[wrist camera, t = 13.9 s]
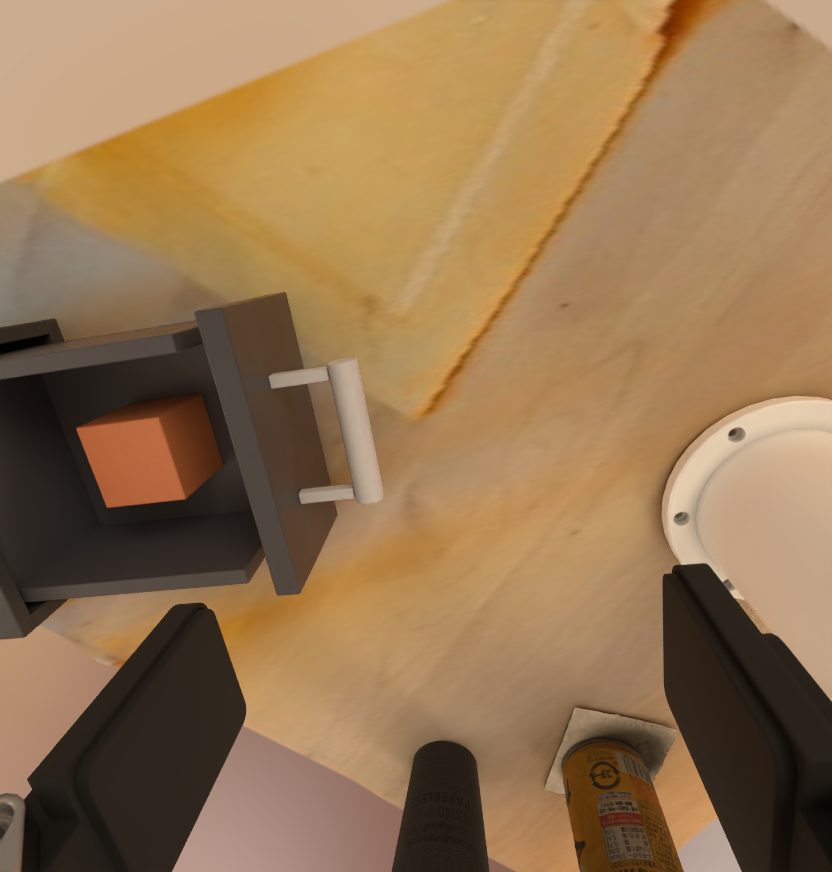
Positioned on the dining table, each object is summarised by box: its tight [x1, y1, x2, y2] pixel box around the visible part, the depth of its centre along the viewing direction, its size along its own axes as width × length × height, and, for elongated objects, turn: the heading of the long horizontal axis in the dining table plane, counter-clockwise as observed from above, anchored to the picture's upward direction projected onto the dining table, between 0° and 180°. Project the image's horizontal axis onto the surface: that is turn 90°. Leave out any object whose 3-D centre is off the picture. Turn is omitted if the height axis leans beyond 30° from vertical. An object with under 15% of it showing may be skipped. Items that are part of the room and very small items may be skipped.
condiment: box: [544, 707, 684, 872], centre depth 32 cm, size 7×8×12 cm
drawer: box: [0, 292, 384, 602], centre depth 27 cm, size 20×13×8 cm
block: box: [76, 394, 223, 508], centre depth 27 cm, size 4×4×4 cm
